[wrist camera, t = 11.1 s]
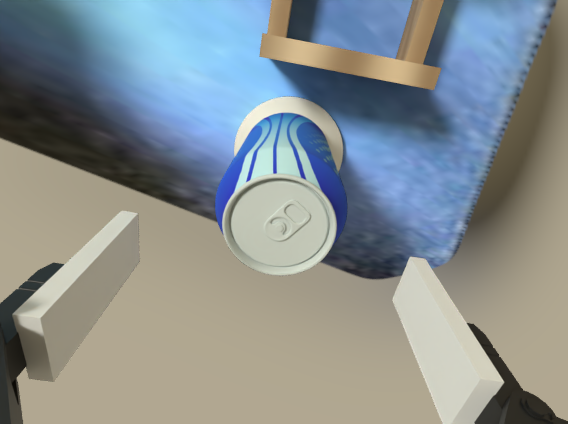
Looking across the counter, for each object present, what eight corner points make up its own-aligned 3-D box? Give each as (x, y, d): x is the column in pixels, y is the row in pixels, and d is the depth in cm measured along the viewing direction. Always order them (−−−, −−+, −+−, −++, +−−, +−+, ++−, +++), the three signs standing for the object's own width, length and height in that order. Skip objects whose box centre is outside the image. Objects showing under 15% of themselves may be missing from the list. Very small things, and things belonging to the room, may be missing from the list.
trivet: (230, 192, 36) (229, 194, 35) (241, 86, 31) (240, 86, 31) (328, 209, 36) (329, 211, 36) (354, 107, 32) (355, 108, 31)
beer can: (329, 188, 35) (353, 284, 20) (251, 194, 35) (220, 291, 21) (326, 106, 31) (352, 151, 17) (239, 114, 32) (191, 165, 17)
